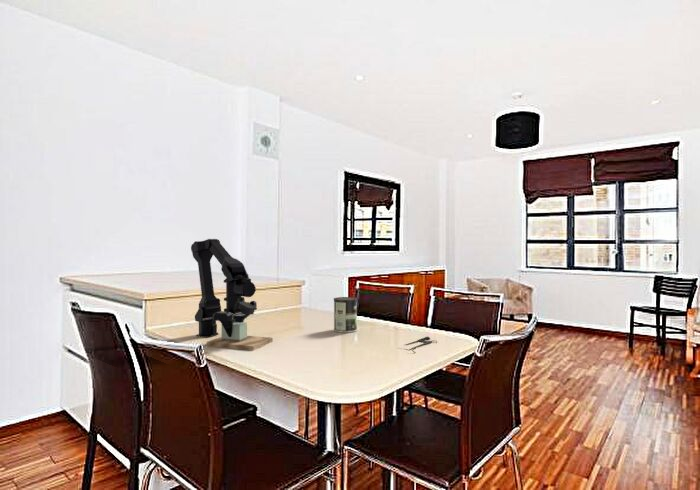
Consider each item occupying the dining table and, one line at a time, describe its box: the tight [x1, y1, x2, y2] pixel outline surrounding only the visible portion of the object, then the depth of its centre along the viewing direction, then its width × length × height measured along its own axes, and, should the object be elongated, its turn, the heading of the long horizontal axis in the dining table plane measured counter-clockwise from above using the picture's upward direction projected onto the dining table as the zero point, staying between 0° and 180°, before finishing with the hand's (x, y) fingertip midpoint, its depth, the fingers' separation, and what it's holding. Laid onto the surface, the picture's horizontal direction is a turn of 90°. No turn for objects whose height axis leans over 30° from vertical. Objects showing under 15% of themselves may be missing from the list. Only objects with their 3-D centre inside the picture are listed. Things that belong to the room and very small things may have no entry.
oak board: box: [206, 335, 274, 351], centre depth 164 cm, size 20×14×2 cm
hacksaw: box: [398, 336, 437, 355], centre depth 162 cm, size 24×10×2 cm, turn 135°
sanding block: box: [221, 321, 248, 341], centre depth 165 cm, size 8×5×6 cm, turn 71°
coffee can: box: [333, 296, 358, 334], centre depth 189 cm, size 10×10×14 cm
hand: (234, 335), depth 165 cm, fingers closed on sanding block, 5 cm apart
